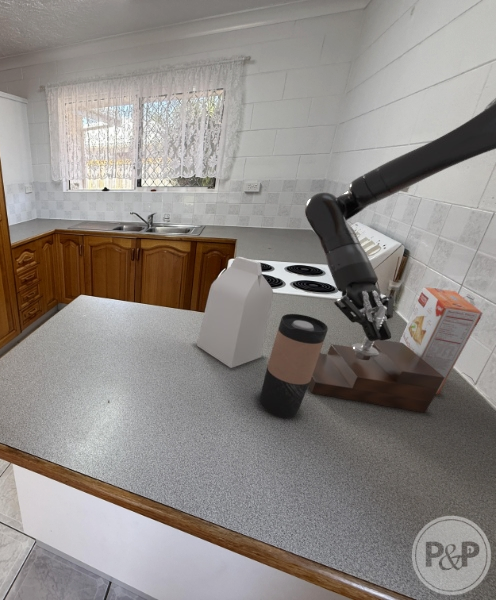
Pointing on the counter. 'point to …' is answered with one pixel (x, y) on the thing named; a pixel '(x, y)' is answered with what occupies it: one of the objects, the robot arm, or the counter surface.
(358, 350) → the screw
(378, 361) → the shelf stand
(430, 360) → the cracker box
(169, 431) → the counter surface
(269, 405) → the travel mug
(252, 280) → the milk
